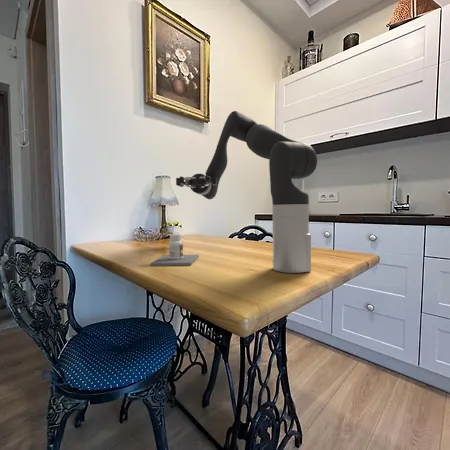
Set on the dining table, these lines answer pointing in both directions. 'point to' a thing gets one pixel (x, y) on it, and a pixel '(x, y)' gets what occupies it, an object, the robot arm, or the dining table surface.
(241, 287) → the dining table surface
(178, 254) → the pill bottle
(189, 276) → the dining table surface
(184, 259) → the mat
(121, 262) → the dining table surface
